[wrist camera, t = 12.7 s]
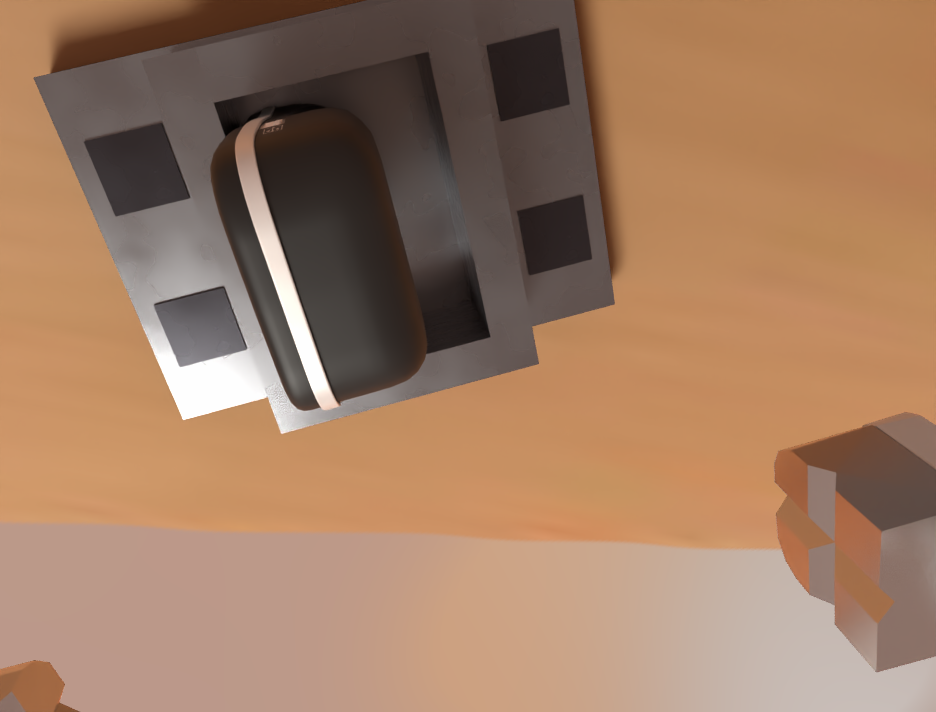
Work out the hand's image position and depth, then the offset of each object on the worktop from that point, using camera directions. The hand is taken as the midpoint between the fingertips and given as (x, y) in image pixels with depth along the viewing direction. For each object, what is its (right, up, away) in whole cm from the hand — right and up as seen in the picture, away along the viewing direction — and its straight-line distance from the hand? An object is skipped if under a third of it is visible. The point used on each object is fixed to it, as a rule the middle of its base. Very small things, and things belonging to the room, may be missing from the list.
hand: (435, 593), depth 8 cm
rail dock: (-4, +9, +20) cm, 22 cm away
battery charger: (-5, +9, +19) cm, 21 cm away
